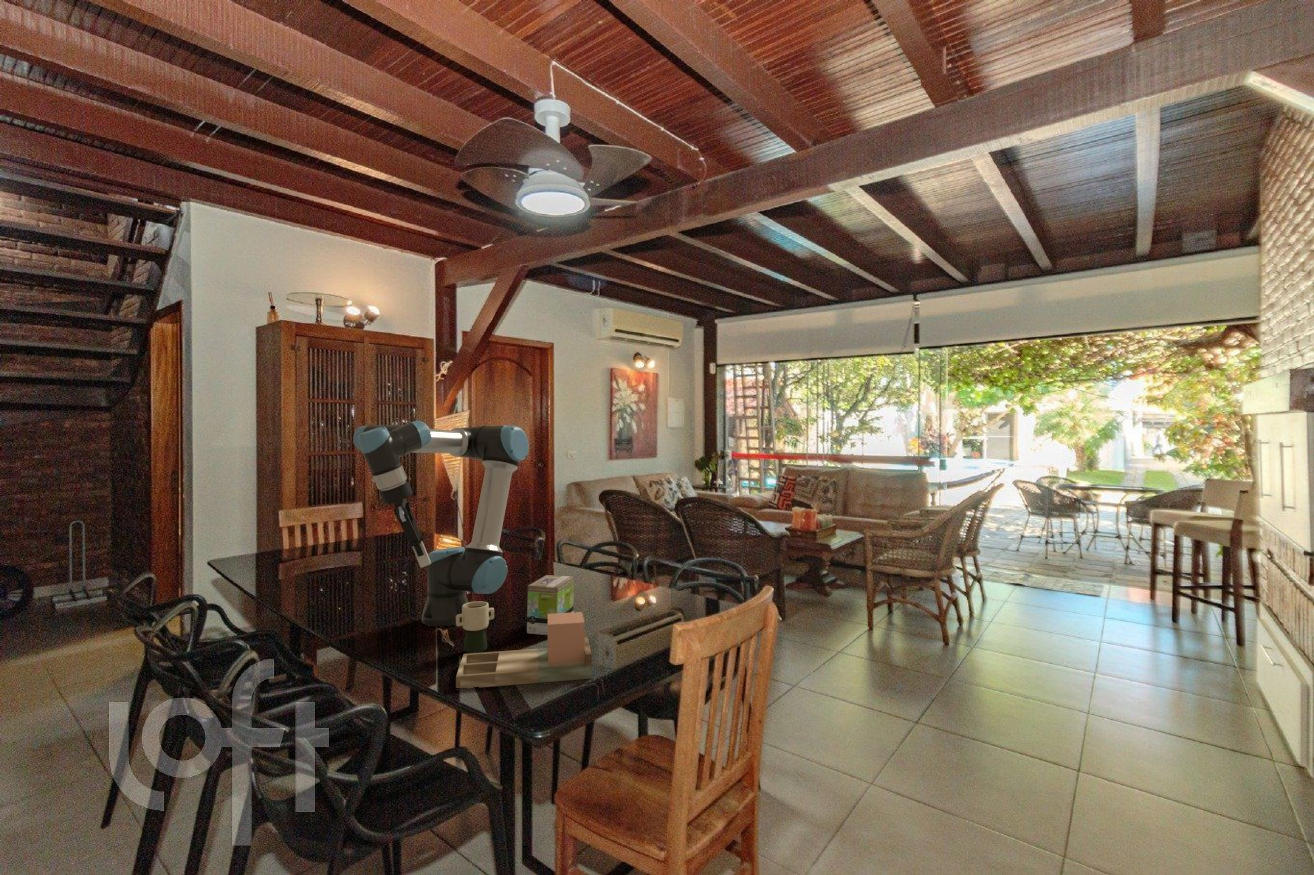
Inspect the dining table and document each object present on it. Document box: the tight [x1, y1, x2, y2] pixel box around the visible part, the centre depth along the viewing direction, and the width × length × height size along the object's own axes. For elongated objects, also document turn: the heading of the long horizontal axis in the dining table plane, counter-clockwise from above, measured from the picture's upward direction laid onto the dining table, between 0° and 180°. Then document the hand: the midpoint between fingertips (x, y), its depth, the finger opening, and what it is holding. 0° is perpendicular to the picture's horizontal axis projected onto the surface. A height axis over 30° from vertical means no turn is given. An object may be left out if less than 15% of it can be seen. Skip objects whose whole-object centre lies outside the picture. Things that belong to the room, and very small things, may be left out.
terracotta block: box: [547, 611, 586, 665], centre depth 155 cm, size 9×9×10 cm
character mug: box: [455, 600, 495, 654], centre depth 168 cm, size 11×7×13 cm, turn 129°
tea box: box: [526, 574, 575, 636], centre depth 189 cm, size 15×10×15 cm
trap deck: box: [455, 633, 593, 689], centre depth 153 cm, size 15×32×6 cm, turn 101°
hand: (425, 565), depth 164 cm, fingers closed
